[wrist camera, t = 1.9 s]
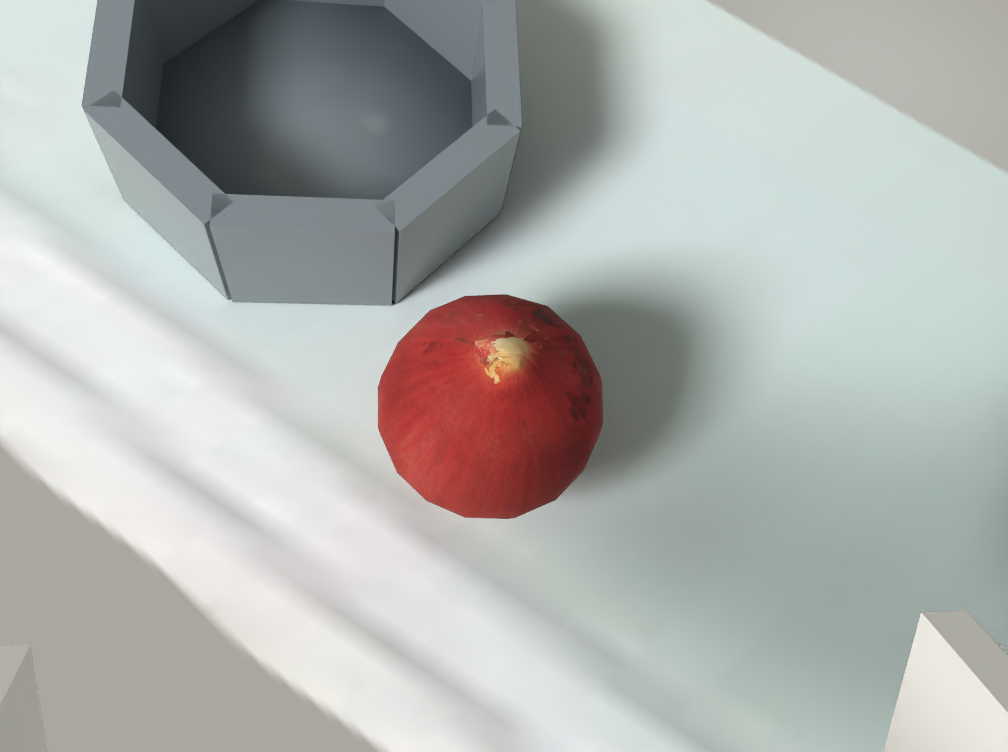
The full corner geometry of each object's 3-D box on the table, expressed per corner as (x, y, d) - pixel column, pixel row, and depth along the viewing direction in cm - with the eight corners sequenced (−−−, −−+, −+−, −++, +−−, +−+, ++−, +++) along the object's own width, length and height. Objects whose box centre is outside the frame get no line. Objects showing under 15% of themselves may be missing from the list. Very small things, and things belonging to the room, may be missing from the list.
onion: (473, 322, 30) (506, 180, 22) (611, 447, 29) (693, 341, 22) (337, 448, 28) (324, 338, 20) (480, 587, 27) (521, 523, 19)
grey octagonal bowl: (571, 151, 33) (600, 63, 28) (310, 379, 28) (299, 315, 24) (327, -58, 35) (321, -168, 30) (48, 127, 30) (-3, 28, 26)
